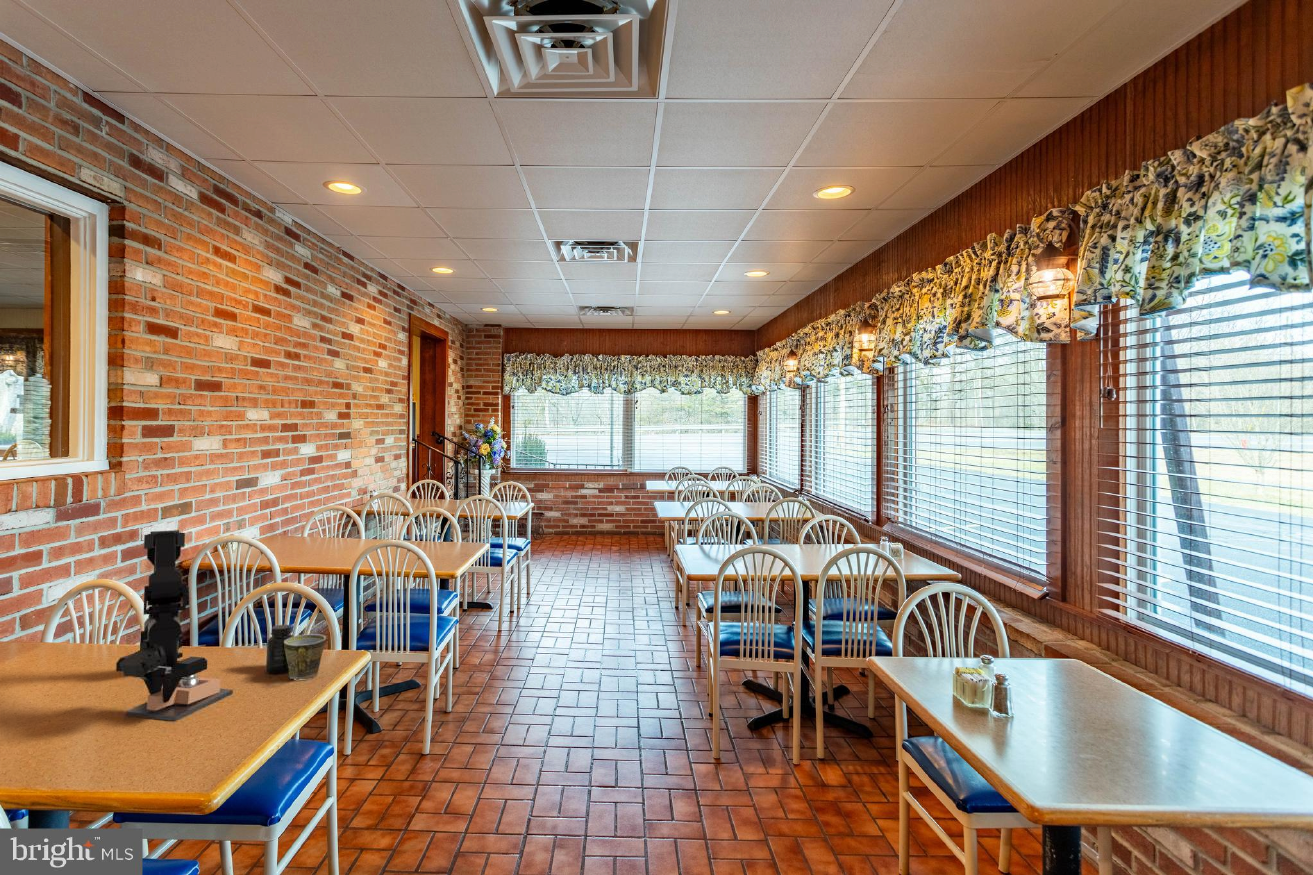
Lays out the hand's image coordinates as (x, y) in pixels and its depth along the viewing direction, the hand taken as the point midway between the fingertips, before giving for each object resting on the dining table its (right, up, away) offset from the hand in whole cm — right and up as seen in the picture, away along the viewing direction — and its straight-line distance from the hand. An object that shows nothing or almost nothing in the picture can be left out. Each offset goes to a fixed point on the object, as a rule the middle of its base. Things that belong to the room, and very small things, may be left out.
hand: (160, 701), depth 147 cm
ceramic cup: (+20, -4, +24) cm, 31 cm away
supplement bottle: (+10, -4, +29) cm, 31 cm away
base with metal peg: (+1, -3, +5) cm, 6 cm away
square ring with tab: (+1, -2, +5) cm, 5 cm away
